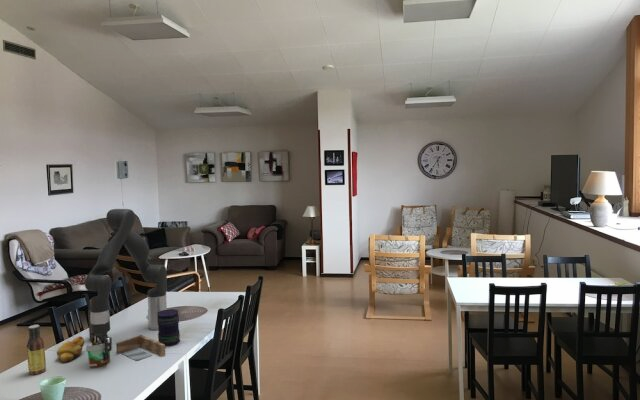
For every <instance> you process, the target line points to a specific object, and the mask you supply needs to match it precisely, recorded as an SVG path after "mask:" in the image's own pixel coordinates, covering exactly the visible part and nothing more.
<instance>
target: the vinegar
mask: <svg viewBox="0 0 640 400" xmlns="http://www.w3.org/2000/svg"><path fill="white" fill-rule="evenodd" d="M87 314H88V315H87V317H88V332H89V334H88V336H89V341H90V342H92V339H91V320H90V315H91V308H89V309H88V310H87Z"/></svg>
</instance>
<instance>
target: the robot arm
mask: <svg viewBox="0 0 640 400" xmlns="http://www.w3.org/2000/svg"><path fill="white" fill-rule="evenodd" d="M135 222H136V214H135V212H134V210H133V209H130V208H129V209H128V208H113V209H112V208H111V209H110V210H108V212H107V213H106V223H107V225H108V226H109V228H110V230H112V231H113V233H114V234H115V235H114V236H113V237H112V238H111V239H110V240H108V242H107V243H106V244H105V245H104V246H103V248H102V249H101V251H100V253H99V255H98V258H97V261H96V264H95V265H94V266H93V268H92V269H91V270H90V271H89V273H88V274H87V276H86V277H85V281H84V287H85V289H86V291H89V292H98V295H96V296H93V297H92V298H91V299H89V307H90V308H91V315H90V320H91V339H92V341H91V346H92V345H93V344H94V343H96V342H98V343H99V344H103V343H105V349H103V361H107V360H109V351H110V352H111V351H113V350H112V348H113V347H112V344H113V342H112V340H113V339H112V337H110V336H109V335H108V332H110V330H111V320H110V319H111V318H110V317H111V316H110V310H109V297H110V294H111V289H112V285H113V283H112V282H113V281H112V279H111V277H110V276H109V275H107V274H105V273H108V272H109V273H110V272H111V271H112V270H113V269H114V267H115V263H116V261H117V257H118V256H119V253H120V250H121V248H122V246H124V248H125V249H126V250H127V252H128V254H129V255H130V257H131V258H132V259H133V260H134V261H133V262H134V263H135V264H136V266H137V268H138V269H139V272H140V274H141V276H142V278H143V281H145V282H147V283H153V284H154V283H155V287H152V288H150V289H148V291H147V321H148V322H147V323H148V328H149V330H152V331H159V328H158V321H157V313H158V312H160V311H162V310H167V309H168V307H167V287H168V285H167V284H168V283H167V282H168V281H167V280H168V279H167V277H168V275H167V274H168V273H167V267H166V266H165V265H163V264H151V263H150V262H149V261H148V258H149V257H150V247H149V244H147V241H146V239H144V237H143V236H142V235H140V234H138V233H137V232H135V231H133V230H132V228H133V227H134V225H135ZM90 308H89V309H90ZM108 337H110V338H108Z"/></svg>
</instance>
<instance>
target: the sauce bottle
mask: <svg viewBox="0 0 640 400" xmlns="http://www.w3.org/2000/svg"><path fill="white" fill-rule="evenodd" d="M40 327H41V326H40V325H39V324H33V325H30V326H28V329H27V330H28V331H27V332H28V335H29V336H28V337H29V338H28V340H27V343H26V352H27V353H26V354H27V365H28V371H29V375H33V376H34V375H40V374H42V373H45V371H47V367H46V366H47V362H46V361H47V359H46V349H45V341H44V339H43V338H42V337H41V333H40V332H41V331H40V330H41V329H40Z"/></svg>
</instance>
